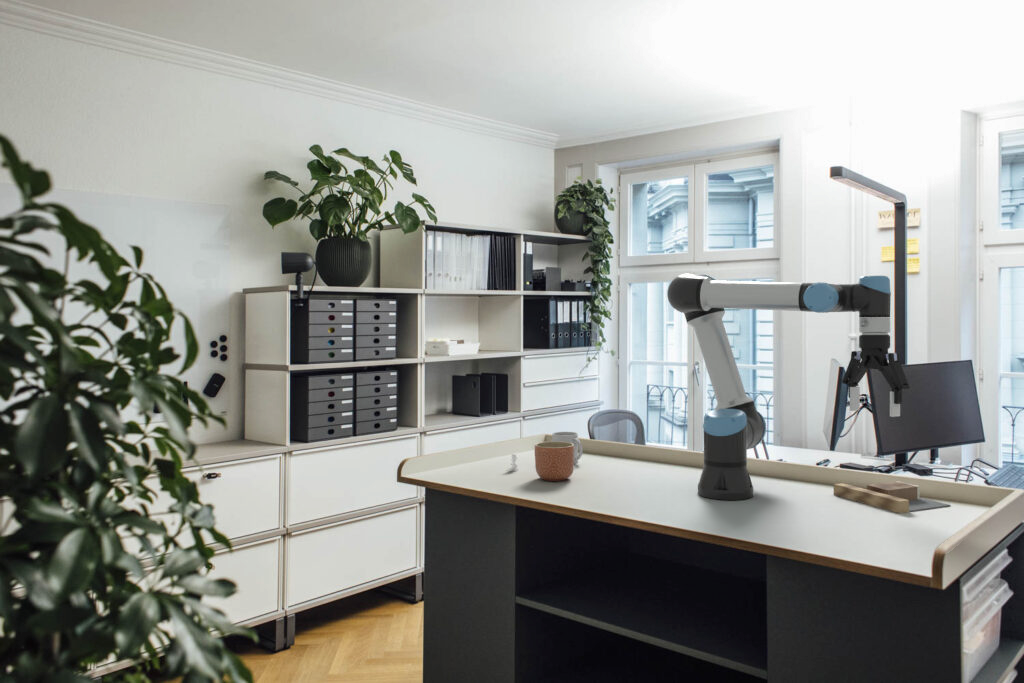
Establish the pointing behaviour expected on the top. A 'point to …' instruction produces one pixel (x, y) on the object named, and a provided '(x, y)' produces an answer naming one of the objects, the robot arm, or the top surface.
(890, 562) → the top surface
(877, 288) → the robot arm
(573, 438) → the mug
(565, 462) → the planter
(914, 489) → the slab
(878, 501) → the rail
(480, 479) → the top surface
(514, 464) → the figurine
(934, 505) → the mat
